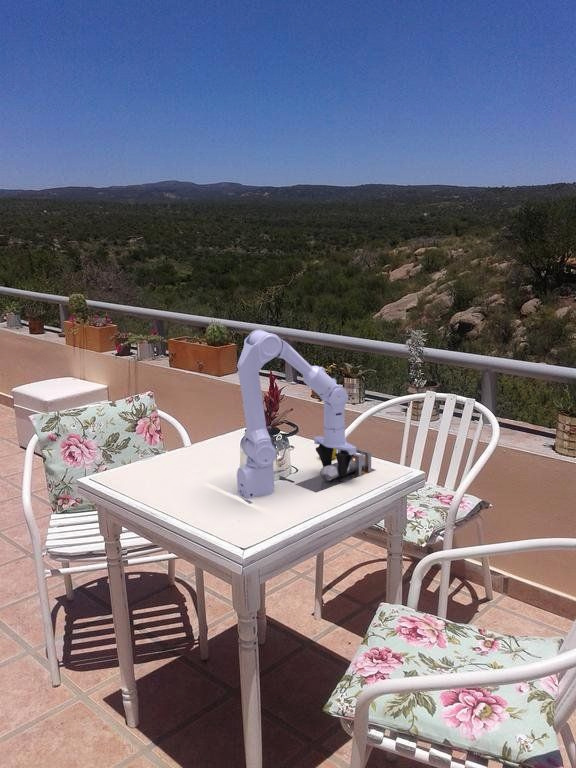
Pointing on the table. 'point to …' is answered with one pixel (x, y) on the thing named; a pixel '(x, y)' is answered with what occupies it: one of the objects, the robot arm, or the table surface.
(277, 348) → the robot arm
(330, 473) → the tube
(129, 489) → the table surface
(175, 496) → the table surface
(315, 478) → the grey holder stand
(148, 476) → the table surface
